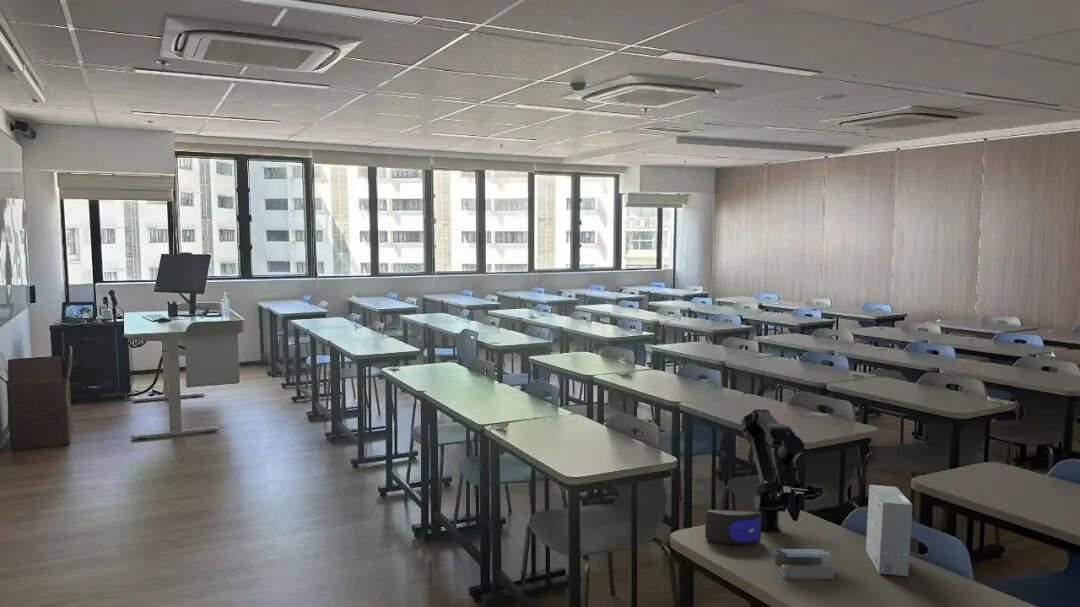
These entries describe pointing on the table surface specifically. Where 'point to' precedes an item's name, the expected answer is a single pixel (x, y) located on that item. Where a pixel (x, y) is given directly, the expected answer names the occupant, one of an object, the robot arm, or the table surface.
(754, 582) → the table surface
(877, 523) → the hard drive box
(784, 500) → the robot arm
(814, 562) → the cable duct
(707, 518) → the grey blue curved block
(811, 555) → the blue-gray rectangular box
